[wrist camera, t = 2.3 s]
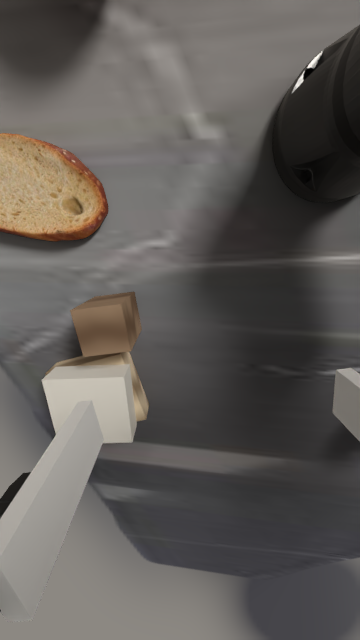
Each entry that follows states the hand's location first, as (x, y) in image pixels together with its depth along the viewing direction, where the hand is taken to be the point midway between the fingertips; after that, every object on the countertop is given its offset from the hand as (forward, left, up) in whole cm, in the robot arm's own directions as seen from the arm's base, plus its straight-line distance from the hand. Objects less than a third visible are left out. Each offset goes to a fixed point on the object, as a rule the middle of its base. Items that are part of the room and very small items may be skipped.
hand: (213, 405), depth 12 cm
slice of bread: (-17, -20, -23) cm, 35 cm away
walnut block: (0, -11, -23) cm, 25 cm away
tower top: (+12, -16, -19) cm, 28 cm away
